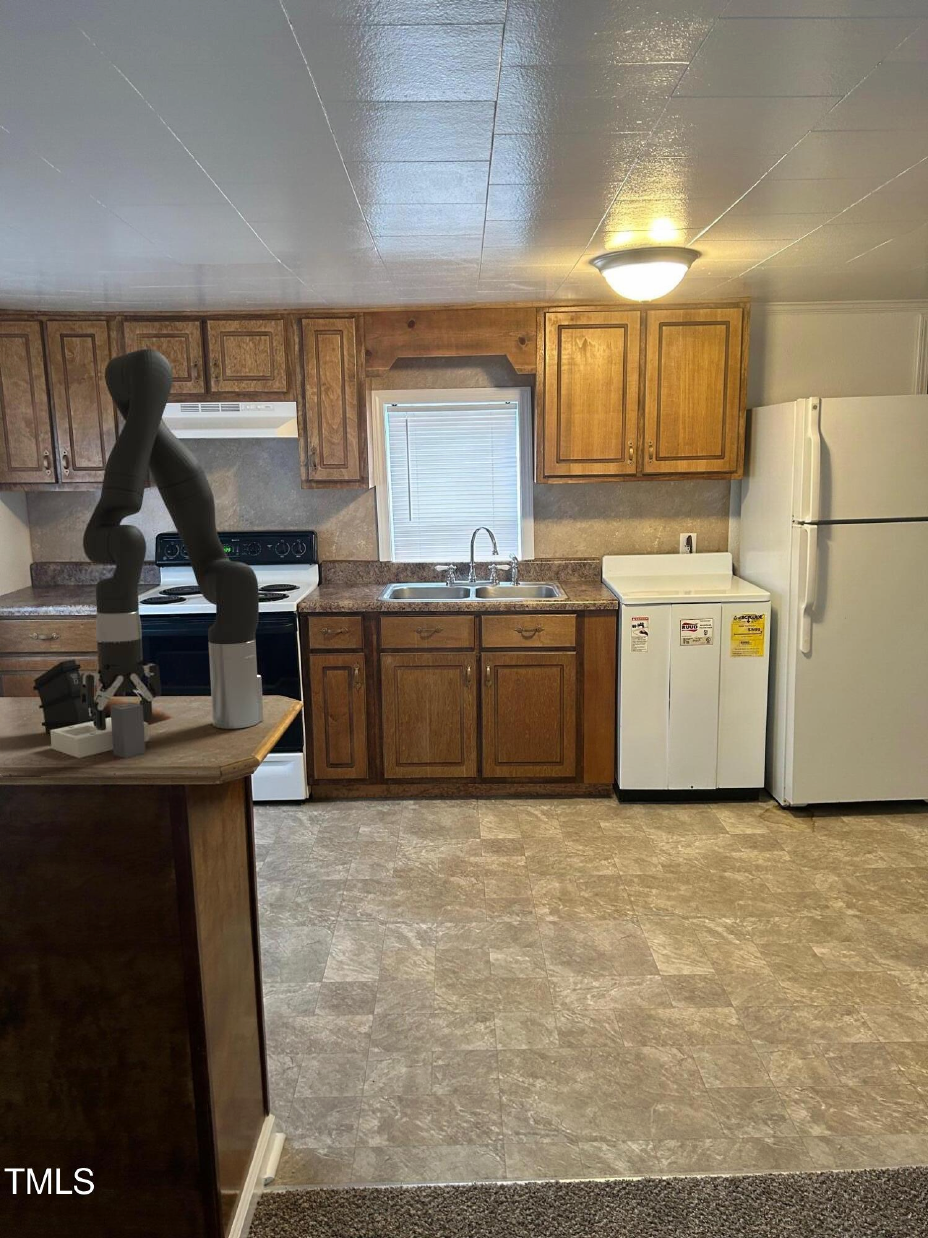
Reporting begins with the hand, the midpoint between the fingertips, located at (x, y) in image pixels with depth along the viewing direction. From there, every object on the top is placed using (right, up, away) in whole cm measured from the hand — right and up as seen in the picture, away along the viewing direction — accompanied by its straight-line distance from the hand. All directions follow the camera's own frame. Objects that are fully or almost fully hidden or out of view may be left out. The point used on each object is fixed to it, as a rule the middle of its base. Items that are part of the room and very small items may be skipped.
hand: (123, 725), depth 163 cm
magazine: (-17, -4, +15) cm, 23 cm away
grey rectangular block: (+1, -5, +1) cm, 5 cm away
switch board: (-7, -5, +7) cm, 11 cm away
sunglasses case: (-9, -2, +28) cm, 30 cm away
